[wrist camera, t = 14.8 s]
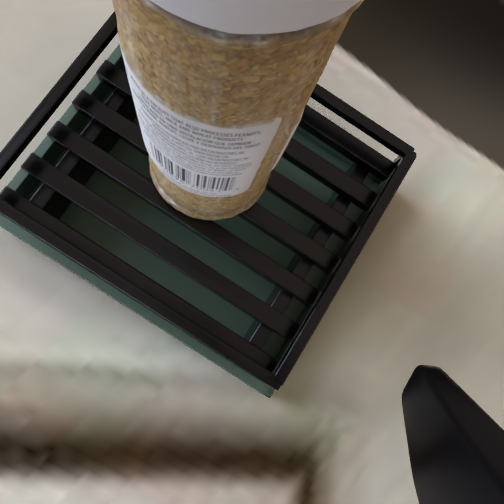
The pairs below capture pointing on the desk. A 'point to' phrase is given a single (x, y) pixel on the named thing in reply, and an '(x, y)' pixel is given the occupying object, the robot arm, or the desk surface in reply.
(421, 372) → the robot arm
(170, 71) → the sprinkles bottle
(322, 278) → the drip tray
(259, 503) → the desk surface
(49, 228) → the rack
